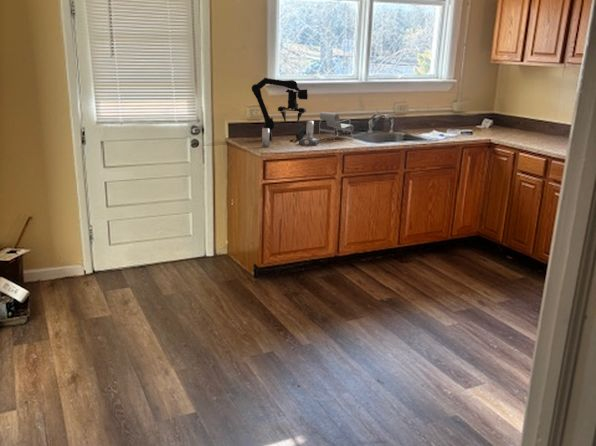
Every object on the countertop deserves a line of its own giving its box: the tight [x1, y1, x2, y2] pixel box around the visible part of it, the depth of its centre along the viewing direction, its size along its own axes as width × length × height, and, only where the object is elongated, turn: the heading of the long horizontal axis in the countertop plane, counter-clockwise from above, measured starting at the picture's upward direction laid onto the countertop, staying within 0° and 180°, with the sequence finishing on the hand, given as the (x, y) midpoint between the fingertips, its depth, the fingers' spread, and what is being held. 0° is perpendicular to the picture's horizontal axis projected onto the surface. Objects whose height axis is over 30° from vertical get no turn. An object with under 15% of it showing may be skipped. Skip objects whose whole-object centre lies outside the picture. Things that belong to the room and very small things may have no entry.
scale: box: [298, 137, 321, 147], centre depth 392 cm, size 12×15×4 cm
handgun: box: [295, 121, 307, 141], centre depth 412 cm, size 2×17×12 cm, turn 150°
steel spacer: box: [305, 120, 315, 139], centre depth 391 cm, size 5×5×12 cm
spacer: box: [261, 128, 270, 149], centre depth 374 cm, size 5×5×12 cm
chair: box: [318, 111, 355, 142], centre depth 415 cm, size 13×25×20 cm, turn 140°
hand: (291, 122), depth 399 cm, fingers open, 9 cm apart
